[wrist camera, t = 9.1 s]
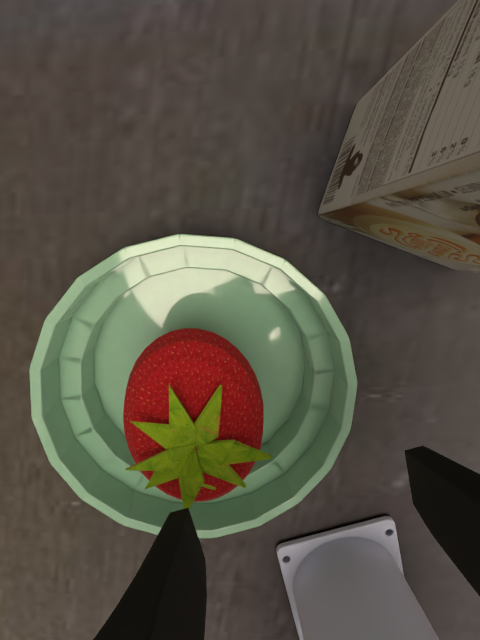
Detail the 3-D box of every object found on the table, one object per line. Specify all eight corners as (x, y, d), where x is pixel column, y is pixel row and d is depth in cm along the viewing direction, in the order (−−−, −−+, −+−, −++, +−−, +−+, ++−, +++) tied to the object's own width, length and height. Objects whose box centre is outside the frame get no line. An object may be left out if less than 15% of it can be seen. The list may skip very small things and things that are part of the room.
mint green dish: (347, 447, 23) (378, 495, 19) (116, 507, 23) (93, 570, 18) (300, 207, 20) (324, 197, 15) (29, 274, 19) (-25, 283, 15)
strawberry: (245, 299, 20) (273, 354, 10) (257, 423, 22) (292, 573, 12) (137, 311, 20) (62, 380, 10) (158, 436, 21) (111, 598, 12)
